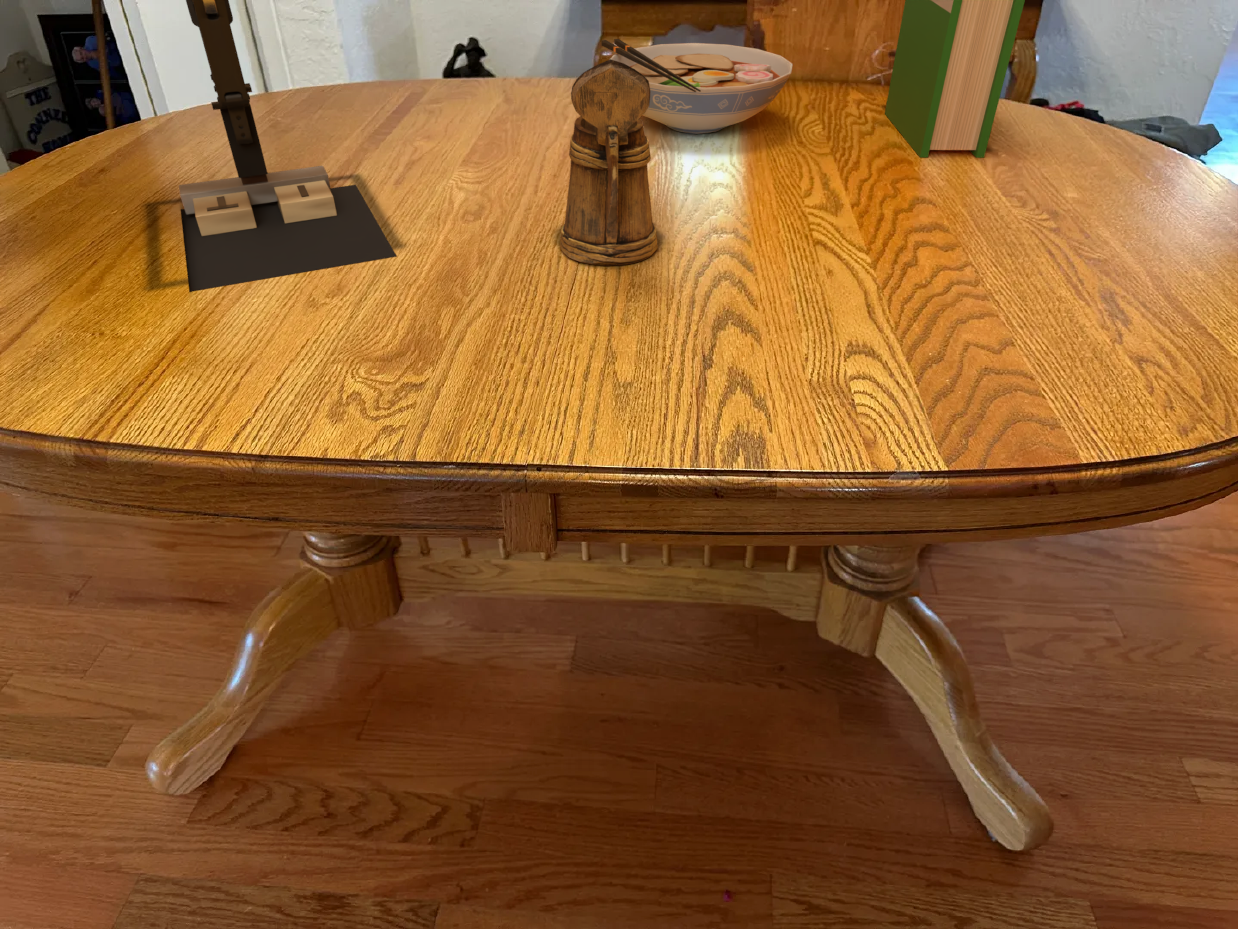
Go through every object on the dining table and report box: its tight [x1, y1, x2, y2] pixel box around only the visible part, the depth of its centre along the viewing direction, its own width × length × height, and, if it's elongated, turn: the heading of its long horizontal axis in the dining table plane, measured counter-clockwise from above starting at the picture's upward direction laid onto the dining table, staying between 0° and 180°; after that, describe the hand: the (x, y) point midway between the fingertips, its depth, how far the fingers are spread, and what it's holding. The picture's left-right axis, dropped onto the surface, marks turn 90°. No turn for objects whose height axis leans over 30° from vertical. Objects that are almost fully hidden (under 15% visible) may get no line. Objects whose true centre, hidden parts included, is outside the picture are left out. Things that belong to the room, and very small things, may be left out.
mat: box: [180, 184, 398, 293], centre depth 81 cm, size 20×20×1 cm
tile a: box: [193, 191, 257, 236], centre depth 83 cm, size 5×5×2 cm
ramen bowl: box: [600, 38, 794, 135], centre depth 106 cm, size 25×23×8 cm
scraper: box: [178, 165, 332, 215], centre depth 83 cm, size 3×14×12 cm, turn 114°
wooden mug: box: [559, 58, 658, 267], centre depth 72 cm, size 9×14×18 cm, turn 2°
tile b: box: [274, 180, 337, 223], centre depth 85 cm, size 5×5×2 cm
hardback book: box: [884, 0, 1026, 159], centre depth 98 cm, size 18×7×24 cm, turn 179°
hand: (251, 169), depth 85 cm, fingers closed on scraper, 2 cm apart
